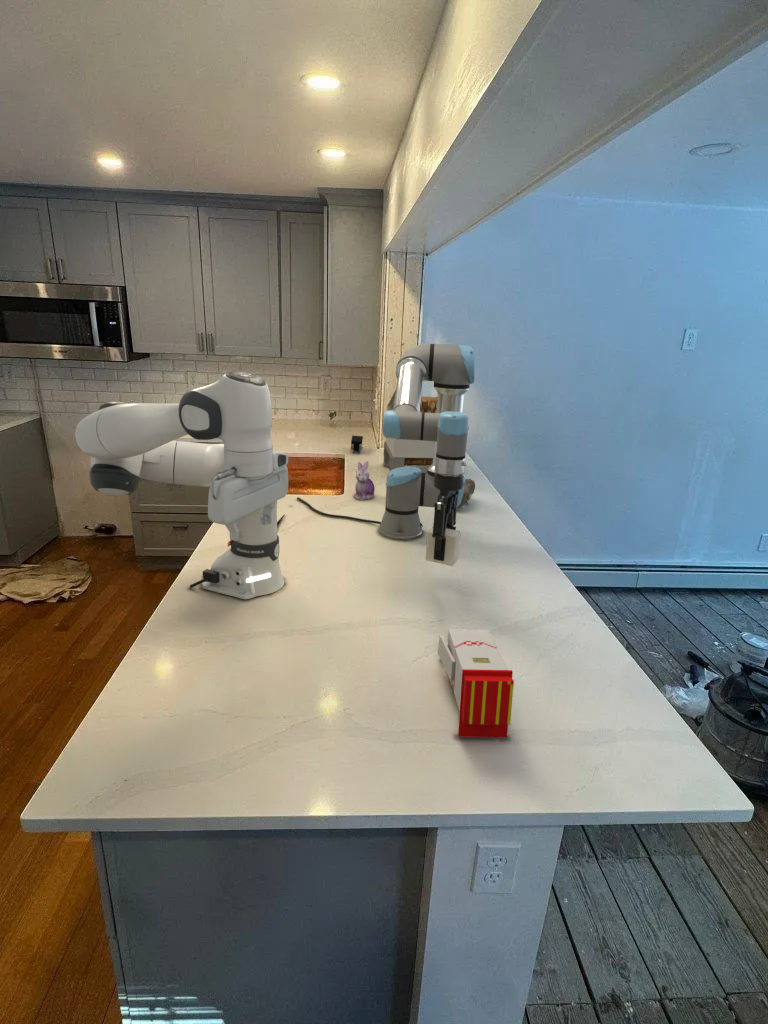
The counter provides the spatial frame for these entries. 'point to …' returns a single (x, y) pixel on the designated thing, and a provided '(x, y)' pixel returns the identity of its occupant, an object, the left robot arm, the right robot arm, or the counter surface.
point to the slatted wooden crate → (410, 443)
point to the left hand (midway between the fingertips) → (251, 531)
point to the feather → (279, 521)
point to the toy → (478, 682)
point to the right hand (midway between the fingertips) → (442, 555)
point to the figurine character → (356, 443)
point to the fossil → (467, 492)
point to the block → (450, 547)
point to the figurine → (363, 483)
